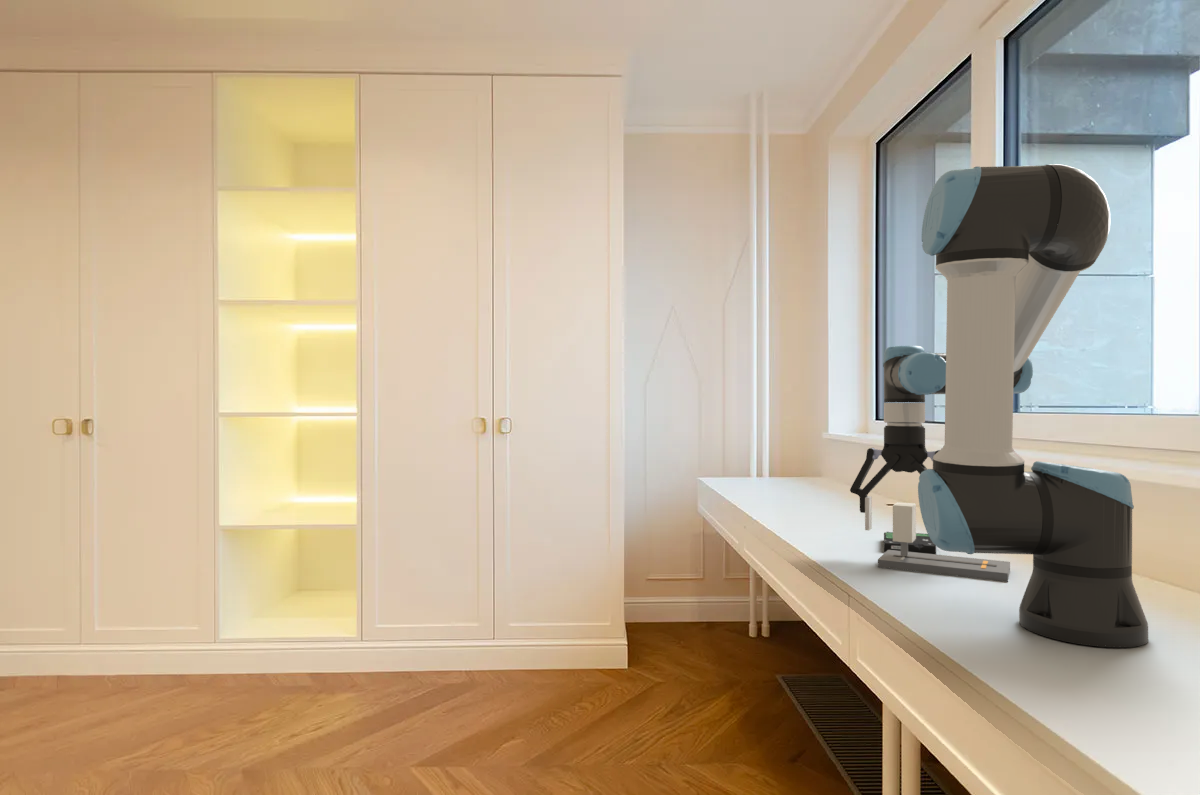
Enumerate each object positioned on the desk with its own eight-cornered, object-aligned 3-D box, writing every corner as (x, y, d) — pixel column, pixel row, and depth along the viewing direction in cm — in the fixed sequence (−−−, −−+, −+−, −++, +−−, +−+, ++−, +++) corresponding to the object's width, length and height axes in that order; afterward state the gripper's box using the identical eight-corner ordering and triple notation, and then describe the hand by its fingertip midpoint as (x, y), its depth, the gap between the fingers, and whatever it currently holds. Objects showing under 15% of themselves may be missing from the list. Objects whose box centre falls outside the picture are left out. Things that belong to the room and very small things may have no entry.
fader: (912, 558, 142) (912, 506, 142) (892, 556, 144) (892, 505, 144) (915, 553, 146) (915, 503, 146) (897, 551, 148) (897, 502, 148)
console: (1007, 581, 131) (1007, 572, 131) (877, 567, 142) (877, 559, 142) (1010, 569, 141) (1010, 561, 141) (888, 556, 152) (888, 549, 152)
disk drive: (937, 559, 153) (932, 545, 167) (937, 545, 153) (932, 532, 167) (883, 555, 156) (883, 542, 170) (883, 542, 156) (882, 530, 170)
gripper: (976, 425, 142) (976, 535, 142) (843, 423, 155) (843, 524, 155) (973, 426, 136) (973, 541, 136) (835, 424, 148) (835, 529, 148)
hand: (904, 532), depth 145 cm, fingers open, 13 cm apart
